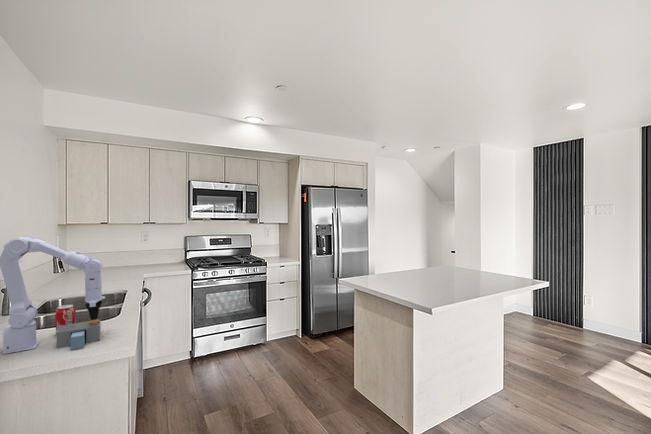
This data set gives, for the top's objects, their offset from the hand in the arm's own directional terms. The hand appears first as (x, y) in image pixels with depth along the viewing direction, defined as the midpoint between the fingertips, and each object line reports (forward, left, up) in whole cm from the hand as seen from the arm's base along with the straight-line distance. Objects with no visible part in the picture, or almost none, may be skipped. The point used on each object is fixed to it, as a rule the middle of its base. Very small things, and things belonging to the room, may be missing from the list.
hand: (94, 319), depth 141 cm
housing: (-5, -1, -8) cm, 9 cm away
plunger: (0, 0, -5) cm, 5 cm away
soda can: (-11, +12, -8) cm, 18 cm away
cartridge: (-5, -4, -8) cm, 10 cm away
